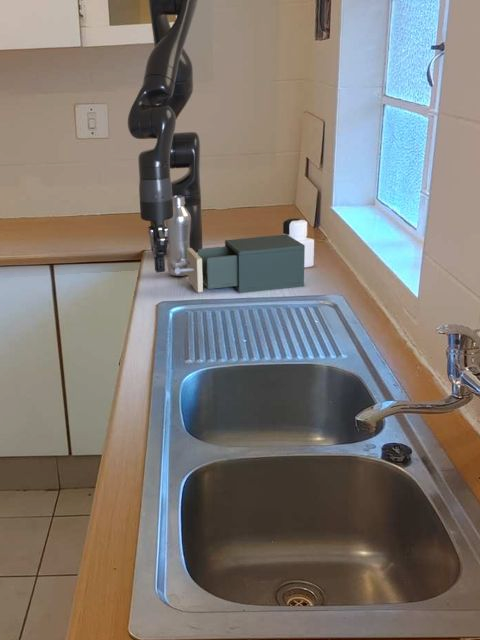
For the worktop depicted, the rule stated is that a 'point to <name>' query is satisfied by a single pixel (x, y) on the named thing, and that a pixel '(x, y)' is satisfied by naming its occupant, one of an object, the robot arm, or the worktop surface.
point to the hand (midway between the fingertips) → (160, 271)
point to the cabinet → (268, 262)
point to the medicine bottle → (300, 238)
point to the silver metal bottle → (178, 234)
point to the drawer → (210, 267)
